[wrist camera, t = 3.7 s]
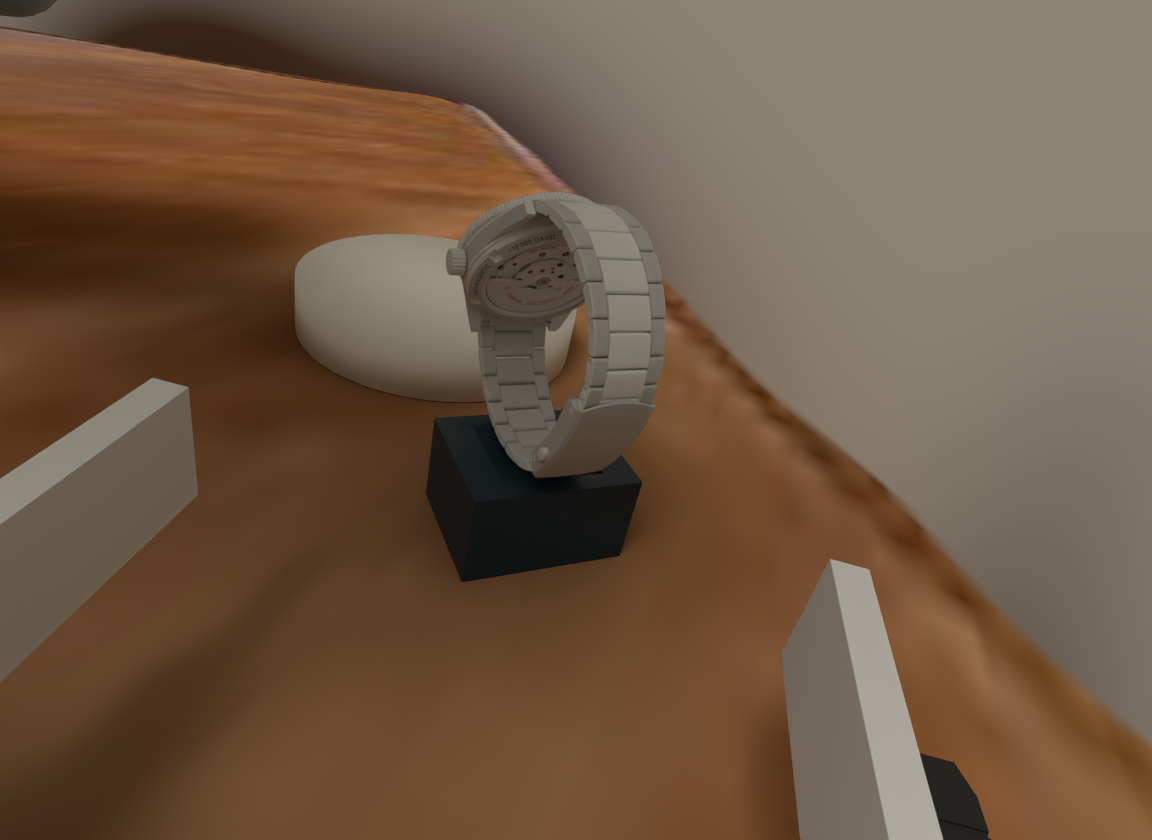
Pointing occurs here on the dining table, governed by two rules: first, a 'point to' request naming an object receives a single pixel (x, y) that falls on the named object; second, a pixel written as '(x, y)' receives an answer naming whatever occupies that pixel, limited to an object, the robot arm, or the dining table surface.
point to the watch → (523, 412)
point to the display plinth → (397, 318)
